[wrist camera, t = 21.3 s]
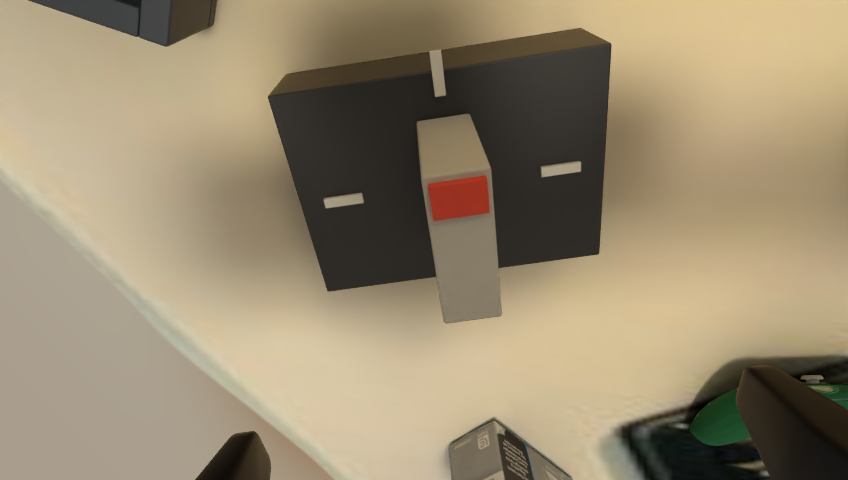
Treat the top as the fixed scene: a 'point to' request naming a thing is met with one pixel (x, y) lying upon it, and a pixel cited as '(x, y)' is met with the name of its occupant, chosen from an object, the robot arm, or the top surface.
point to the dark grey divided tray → (143, 16)
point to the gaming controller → (724, 419)
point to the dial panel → (399, 154)
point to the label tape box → (498, 457)
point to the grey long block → (460, 217)
